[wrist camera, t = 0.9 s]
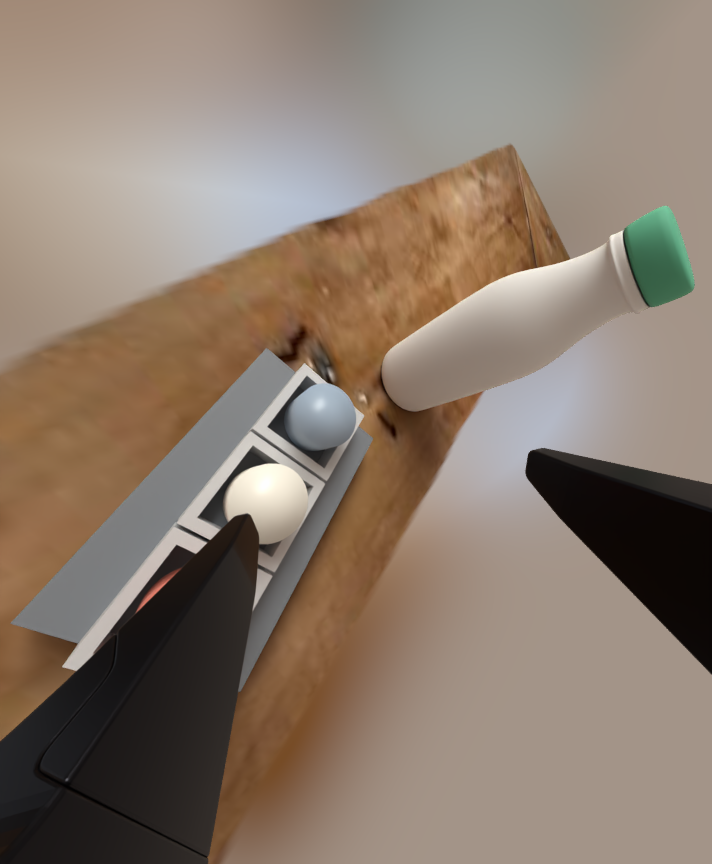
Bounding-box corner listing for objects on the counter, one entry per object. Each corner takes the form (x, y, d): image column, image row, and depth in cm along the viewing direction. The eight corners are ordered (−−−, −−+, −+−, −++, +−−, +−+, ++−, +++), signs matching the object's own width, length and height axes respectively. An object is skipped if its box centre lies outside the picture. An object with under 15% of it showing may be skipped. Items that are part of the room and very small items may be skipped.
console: (233, 666, 17) (246, 718, 13) (38, 600, 13) (-23, 648, 9) (357, 442, 25) (387, 435, 21) (259, 361, 21) (274, 334, 17)
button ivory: (268, 548, 15) (281, 558, 13) (206, 514, 14) (208, 519, 12) (304, 488, 17) (320, 488, 15) (252, 453, 16) (262, 448, 14)
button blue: (320, 462, 18) (337, 460, 16) (271, 427, 17) (283, 419, 14) (346, 418, 20) (365, 411, 18) (305, 383, 18) (320, 370, 16)
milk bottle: (406, 426, 28) (713, 346, 12) (366, 366, 27) (656, 175, 10) (438, 390, 32) (702, 292, 16) (405, 336, 31) (660, 163, 14)
